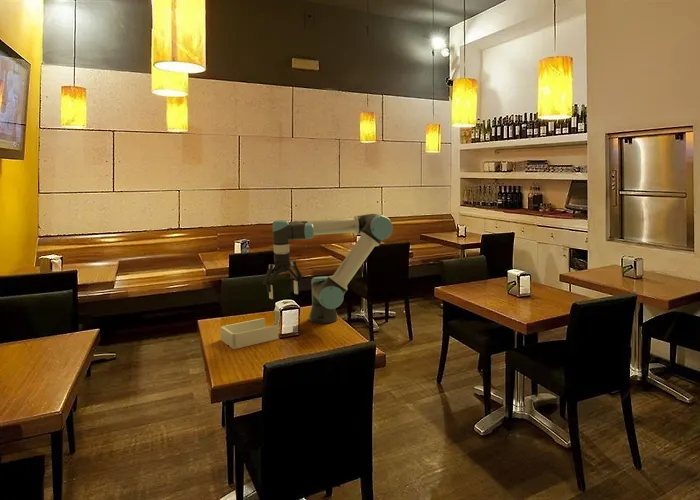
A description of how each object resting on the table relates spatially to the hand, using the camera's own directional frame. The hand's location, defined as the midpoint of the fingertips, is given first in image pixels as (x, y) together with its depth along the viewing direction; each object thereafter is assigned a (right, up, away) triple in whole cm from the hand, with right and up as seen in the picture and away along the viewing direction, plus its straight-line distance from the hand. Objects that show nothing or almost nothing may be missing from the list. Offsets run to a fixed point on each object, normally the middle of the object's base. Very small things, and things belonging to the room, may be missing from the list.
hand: (283, 296), depth 225 cm
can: (0, -18, +3) cm, 18 cm away
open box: (-14, -19, -8) cm, 25 cm away
